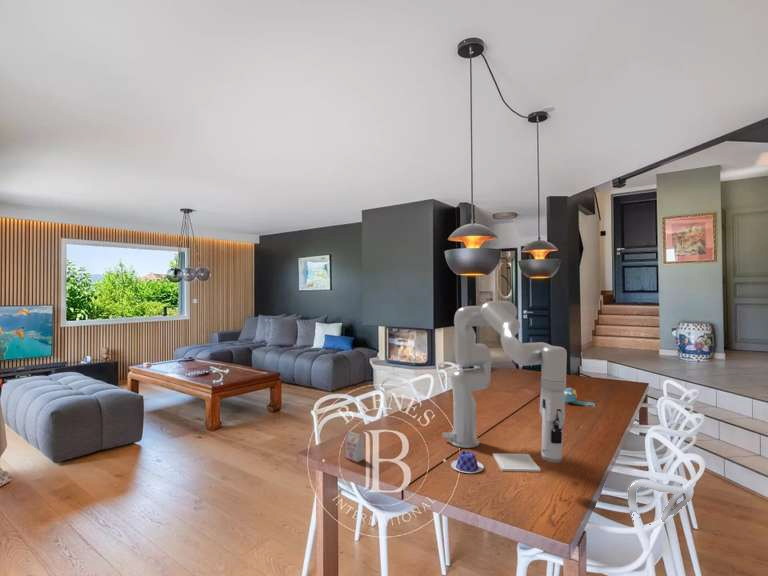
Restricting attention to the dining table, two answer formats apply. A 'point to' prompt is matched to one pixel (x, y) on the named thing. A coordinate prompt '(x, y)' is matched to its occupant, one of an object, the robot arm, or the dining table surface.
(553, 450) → the travel mug
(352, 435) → the small printed carton
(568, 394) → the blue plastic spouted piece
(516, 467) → the plate
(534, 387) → the dining table surface
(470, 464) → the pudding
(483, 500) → the dining table surface
